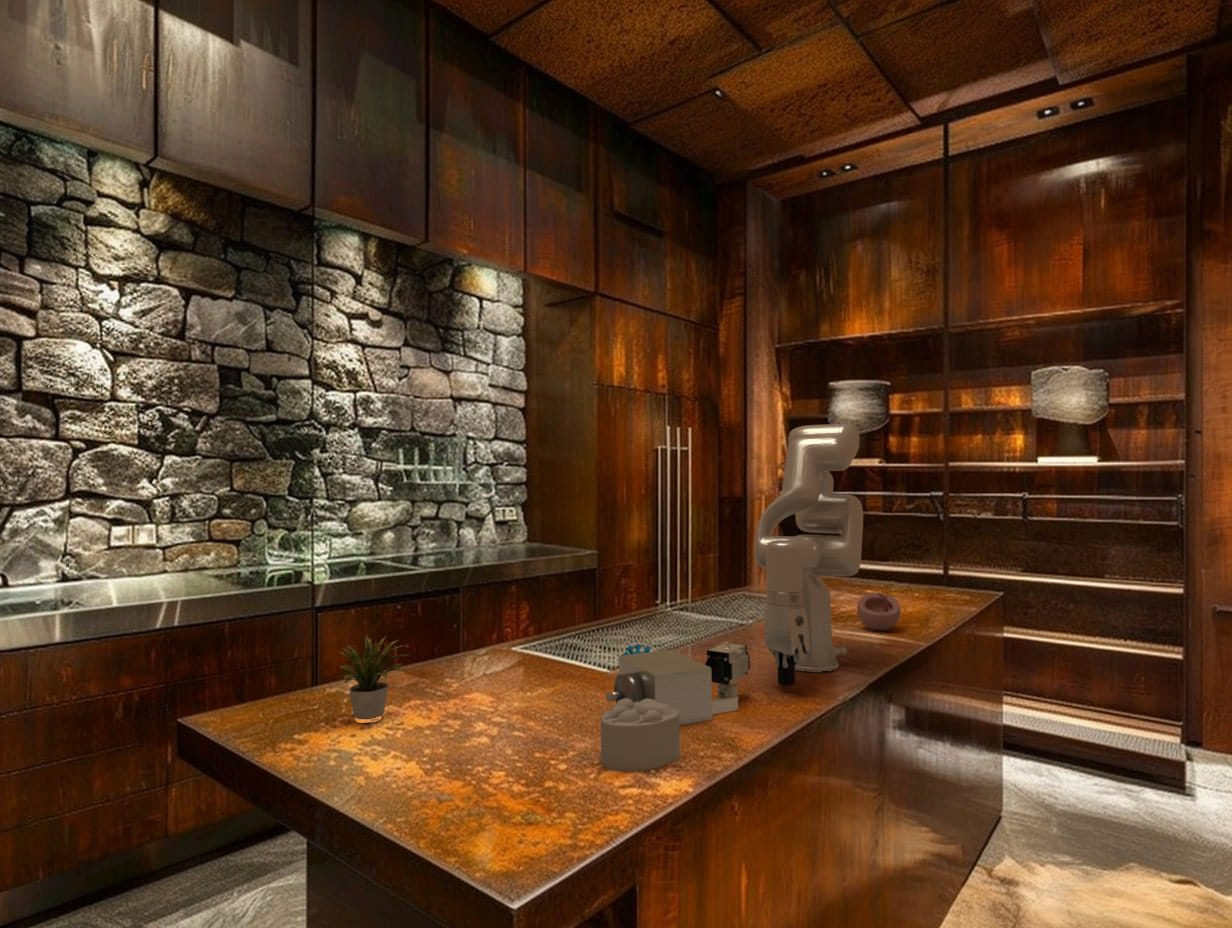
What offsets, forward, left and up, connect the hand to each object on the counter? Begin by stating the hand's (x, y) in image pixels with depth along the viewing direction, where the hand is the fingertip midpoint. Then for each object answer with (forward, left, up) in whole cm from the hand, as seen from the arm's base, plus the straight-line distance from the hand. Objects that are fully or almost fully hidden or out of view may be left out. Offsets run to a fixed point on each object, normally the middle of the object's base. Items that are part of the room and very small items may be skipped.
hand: (786, 684), depth 150 cm
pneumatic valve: (+14, 0, -2) cm, 15 cm away
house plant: (+83, -20, -2) cm, 85 cm away
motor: (+30, 0, -2) cm, 30 cm away
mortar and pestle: (-62, -37, -2) cm, 72 cm away
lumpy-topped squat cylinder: (+44, +18, -2) cm, 48 cm away
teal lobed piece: (+23, -21, -2) cm, 32 cm away
